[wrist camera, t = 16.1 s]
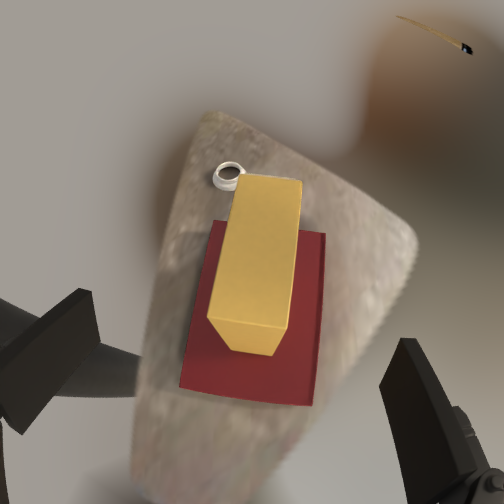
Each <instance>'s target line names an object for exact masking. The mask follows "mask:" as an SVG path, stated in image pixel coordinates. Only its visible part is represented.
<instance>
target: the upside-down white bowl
mask: <svg viewBox="0 0 504 504" xmlns="http://www.w3.org/2000/svg"><path fill="white" fill-rule="evenodd" d="M229 166H232V167H236V168H238V169H239V170H240V174H245V173H246V171H245V170H244V169H243V168H242V167H241V166H240V165H239V164H237V163H235V162H225V163H222V164H221V165H219V166H218V167H217V169H216V171H215V172H214V175H213V183H214V185H215V186H216V187H217V188H219V189H221V190H225V191H233V190H235V189H236V185H237V181H238V177H239V175H240V174H239V175H238V176H237V177H236V178H234V179H231V180H225V179H222V178H220V177H219V176H218V173H219V171H220V170H221V169H223V168H225V167H229Z"/></svg>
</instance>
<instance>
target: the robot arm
mask: <svg viewBox="0 0 504 504" xmlns="http://www.w3.org/2000/svg"><path fill="white" fill-rule="evenodd" d="M100 341H101V340H100V336H99V331H98V326H97V322H96V315H95V311H94V304H93V298H92V292H91V291H89V290H85V289H81V288H78V289H77V290H75V291H74V292H73V293H71V294H70V295H69V296H67V297H66V298H65V299H63V300H62V301H61V302H60V303H58V304H57V305H56V306H54V307H53V308H52V309H51V310H50V311H48V312H47V313H46V314H45V315H43V316H42V317H41V318H39V319H38V320H37V321H36V322H34V323H33V324H32V325H31V326H30V327H28V328H27V329H26V330H25V331H24V332H22V333H20V334H18V335H16V336H14V337H12V338H10V339H9V340H7V341H6V342H5V343H4V344H3V345H2V347H1V346H0V419H1V418H2V417H3V418H4V419H5V421H6V422H7V423H8V425H9V426H10V427H11V428H13V429H14V430H15V431H17V432H18V433H19V434H21V435H23V433H24V432H25V431H26V430H27V429H28V427H29V426H30V425H31V423H32V422H33V421H34V420H35V418H36V417H37V416H38V414H39V413H40V412H41V411H42V410H43V408H44V407H45V406H46V405H47V403H48V402H49V401H50V400H51V399H52V397H53V396H54V395H55V394H56V393H57V391H58V390H59V389H60V388H61V386H62V385H63V384H64V383H65V382H66V381H67V379H68V378H69V377H70V376H71V375H72V373H73V372H74V371H75V370H76V369H77V368H78V367H79V365H80V364H81V363H82V362H83V361H84V360H85V358H86V357H87V356H88V355H89V354H90V353H91V352H92V350H93V349H94V348H95V347H96V346H97V345H98V344H99V343H100ZM379 388H380V392H381V395H382V399H383V402H384V405H385V409H386V413H387V416H388V420H389V424H390V427H391V431H392V435H393V439H394V443H395V447H396V451H397V455H398V460H399V464H400V468H401V473H402V478H403V482H404V487H405V492H406V497H407V503H408V504H437V503H438V502H439V504H504V472H502V471H501V470H499V469H496V468H490V466H489V464H488V462H487V459H486V457H485V454H484V452H483V450H482V447H481V445H480V443H479V440H478V439H477V436H475V431H474V429H473V428H472V427H471V423H470V421H469V419H468V417H467V415H466V414H465V413H464V412H463V411H462V410H461V408H460V407H459V406H453V407H452V406H451V404H450V402H449V400H448V398H447V396H446V394H445V392H444V390H443V388H442V386H441V384H440V382H439V380H438V378H437V376H436V374H435V372H434V370H433V368H432V367H431V365H430V363H429V361H428V359H427V357H426V356H425V354H424V352H423V350H422V348H421V347H420V345H419V343H418V341H417V339H415V338H400V341H399V343H398V345H397V348H396V350H395V353H394V355H393V357H392V359H391V362H390V364H389V366H388V368H387V370H386V372H385V375H384V377H383V379H382V381H381V383H380V385H379ZM2 436H3V433H2V423H1V421H0V504H9V499H8V493H7V486H6V478H5V469H4V457H3V438H2Z"/></svg>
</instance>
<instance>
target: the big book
mask: <svg viewBox="0 0 504 504" xmlns="http://www.w3.org/2000/svg"><path fill="white" fill-rule="evenodd" d="M226 227H227V221H218V220H214V221H213V225H212V229H211V233H210V237H209V242H208V246H207V250H206V255H205V259H204V263H203V268H202V272H201V277H200V281H199V286H198V291H197V295H196V300H195V305H194V310H193V315H192V320H191V325H190V330H189V335H188V340H187V345H186V350H185V356H184V361H183V367H182V372H181V378H180V383H179V387H180V388H184V389H188V390H193V391H198V392H203V393H208V394H214V395H219V396H225V397H231V398H237V399H244V400H251V401H259V402H267V403H276V404H287V405H299V406H312V404H313V397H314V389H315V381H316V372H317V363H318V353H319V343H320V332H321V319H322V305H323V289H324V270H325V243H326V233H319V232H312V231H304V230H298V241H297V251H296V260H295V269H294V278H293V287H292V295H291V304H290V312H289V319H288V327H287V330H286V332H285V333H284V335H283V337H282V339H281V341H280V343H279V345H278V346H277V348H276V350H275V352H274V354H273V356H267V355H260V354H253V353H247V352H240V351H234V350H231V349H230V348H229V347H228V345H227V344H226V343H225V341H224V340H223V339H222V337H221V336H220V335H219V333H218V332H217V330H216V329H215V328H214V326H213V325H212V323H211V322H210V321H209V319H208V318H207V312H208V307H209V302H210V298H211V293H212V288H213V284H214V279H215V275H216V270H217V266H218V261H219V257H220V253H221V248H222V244H223V239H224V235H225V231H226Z"/></svg>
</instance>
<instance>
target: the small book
mask: <svg viewBox="0 0 504 504" xmlns="http://www.w3.org/2000/svg"><path fill="white" fill-rule="evenodd" d="M302 184H303V183H302V181H298V179H292V178H284V177H276V176H268V175H260V174H251V173H245V174H240V175H239V177H238V181H237V185H236V189H235V193H234V197H233V201H232V206H231V210H230V214H229V218H228V222H227V227H226V231H225V235H224V239H223V244H222V248H221V253H220V257H219V261H218V266H217V270H216V275H215V279H214V284H213V288H212V293H211V298H210V302H209V307H208V312H207V318H208V319H209V321H210V322H211V323H212V325H213V326H214V328H215V329H216V330H217V332H218V333H219V335H220V336H221V337H222V339H223V340H224V341H225V343H226V344H227V345H228V347H229V348H230V349H231V350H234V351H240V352H247V353H253V354H260V355H267V356H273V354H274V352H275V350H276V348H277V346H278V345H279V343H280V341H281V339H282V337H283V335H284V333H285V332H286V330H287V327H288V319H289V312H290V304H291V295H292V287H293V278H294V269H295V260H296V251H297V241H298V230H299V220H300V208H301V196H302Z"/></svg>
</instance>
